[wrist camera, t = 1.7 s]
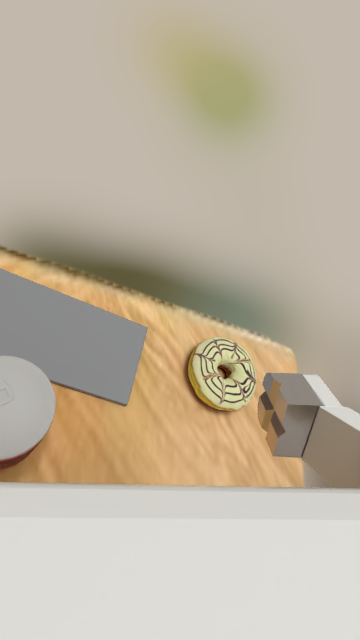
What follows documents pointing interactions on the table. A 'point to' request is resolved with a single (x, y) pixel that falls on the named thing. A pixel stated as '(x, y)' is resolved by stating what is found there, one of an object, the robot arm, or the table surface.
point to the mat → (69, 339)
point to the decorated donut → (211, 383)
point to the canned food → (23, 408)
